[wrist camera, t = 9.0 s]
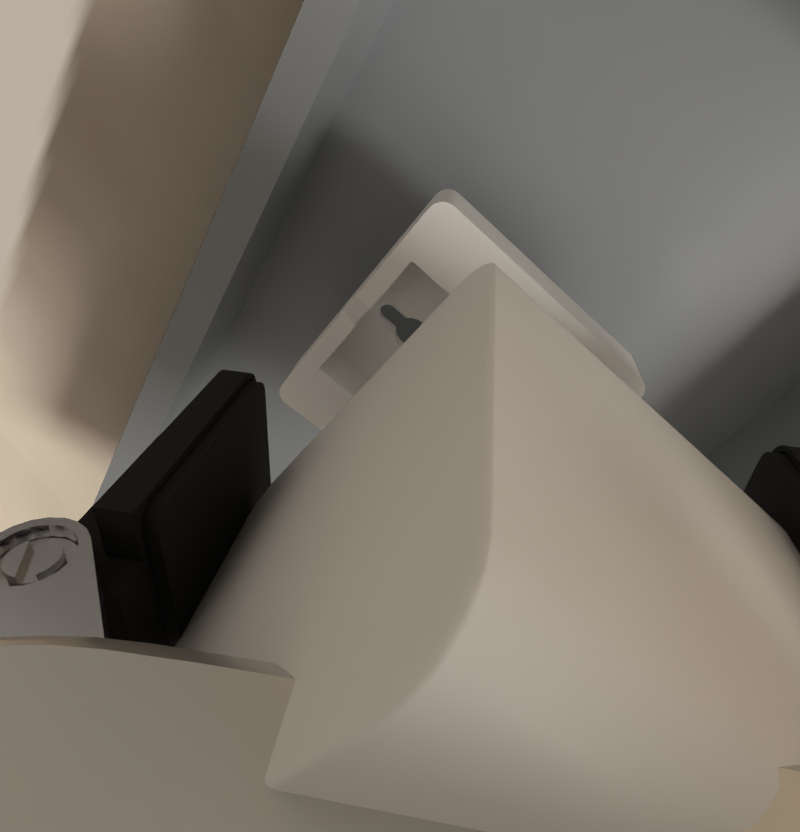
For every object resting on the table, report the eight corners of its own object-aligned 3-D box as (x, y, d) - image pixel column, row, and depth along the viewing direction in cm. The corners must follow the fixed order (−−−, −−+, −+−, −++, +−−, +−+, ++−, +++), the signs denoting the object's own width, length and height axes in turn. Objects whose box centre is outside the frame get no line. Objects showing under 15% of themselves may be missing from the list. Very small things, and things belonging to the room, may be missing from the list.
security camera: (493, 541, 15) (487, 1125, 7) (281, 380, 14) (-70, 891, 5) (702, 392, 12) (1157, 1120, 4) (461, 162, 11) (314, 546, 2)
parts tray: (518, -342, 9) (527, -536, 6) (1067, 166, 12) (1262, 199, 9) (148, 454, 19) (85, 523, 16) (482, 640, 22) (480, 730, 19)
